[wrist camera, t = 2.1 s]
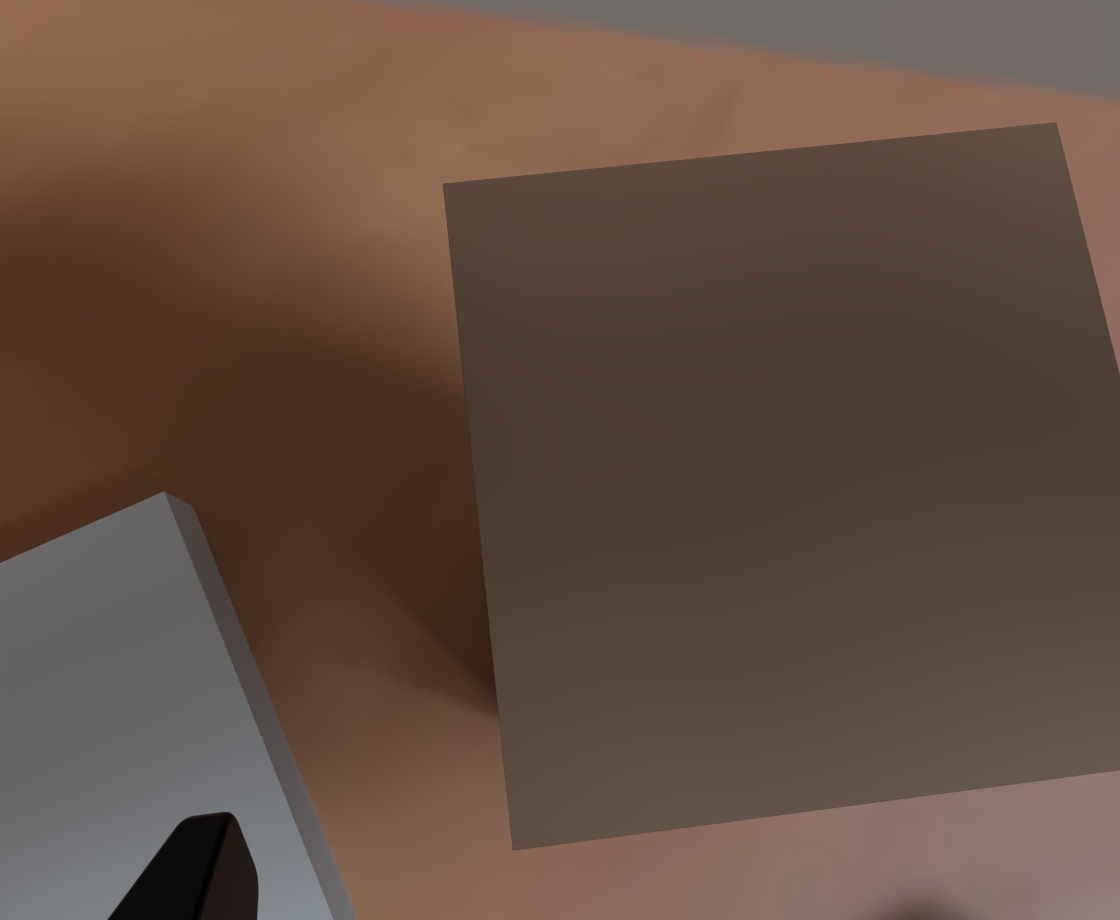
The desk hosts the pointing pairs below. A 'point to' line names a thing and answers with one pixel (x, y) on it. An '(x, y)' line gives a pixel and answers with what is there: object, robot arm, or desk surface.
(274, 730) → the grey slab
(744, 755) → the walnut block
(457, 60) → the desk surface
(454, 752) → the desk surface
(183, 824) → the robot arm
